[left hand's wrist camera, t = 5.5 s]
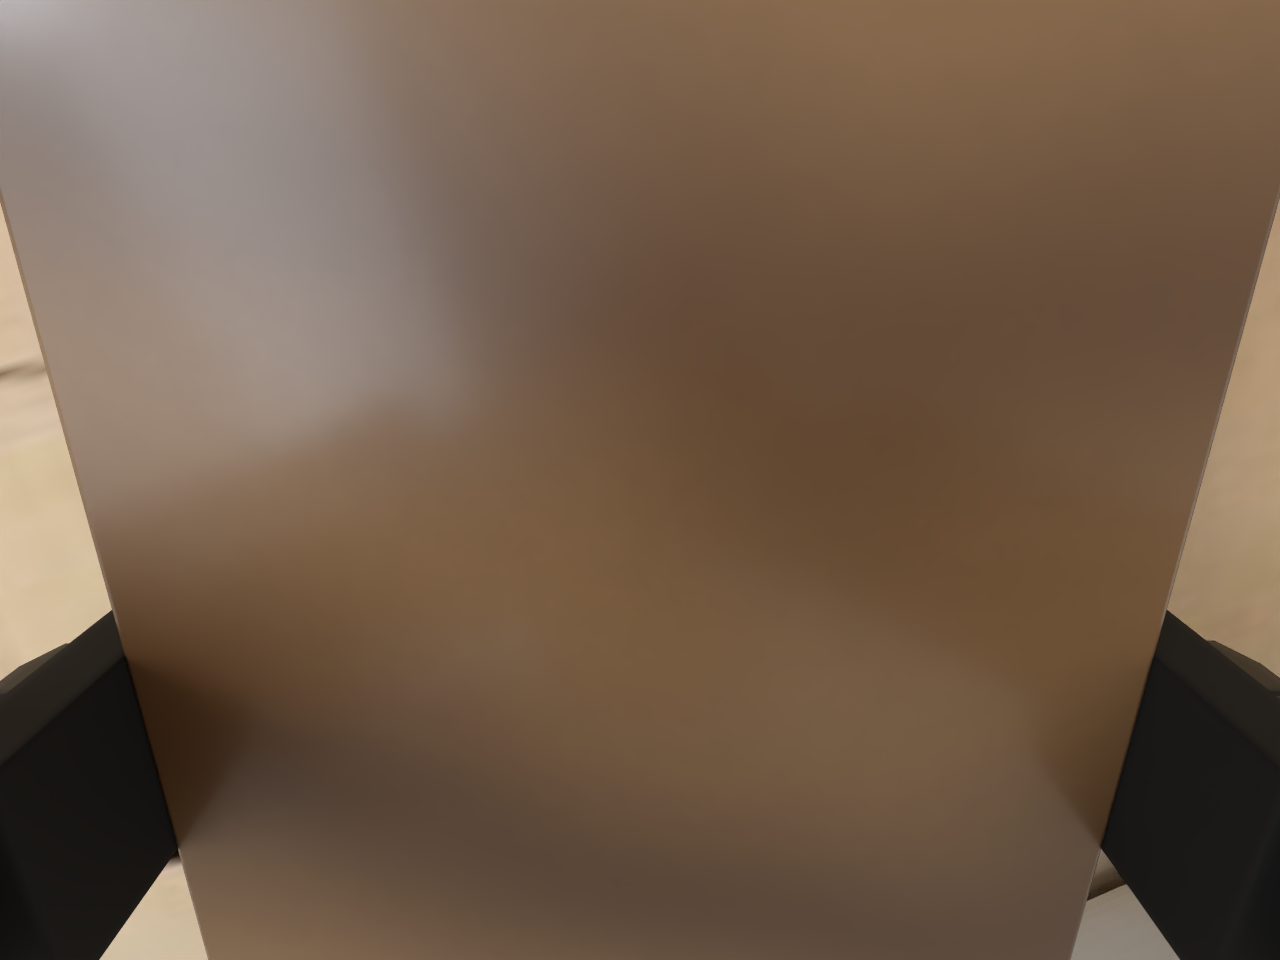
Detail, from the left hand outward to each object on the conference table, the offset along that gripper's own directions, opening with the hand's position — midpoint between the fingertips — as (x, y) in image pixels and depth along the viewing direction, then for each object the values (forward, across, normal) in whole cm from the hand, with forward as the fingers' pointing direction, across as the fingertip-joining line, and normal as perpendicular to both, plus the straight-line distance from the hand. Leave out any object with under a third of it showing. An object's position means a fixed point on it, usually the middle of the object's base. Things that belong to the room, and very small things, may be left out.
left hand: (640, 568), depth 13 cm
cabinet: (+7, 0, -6) cm, 9 cm away
